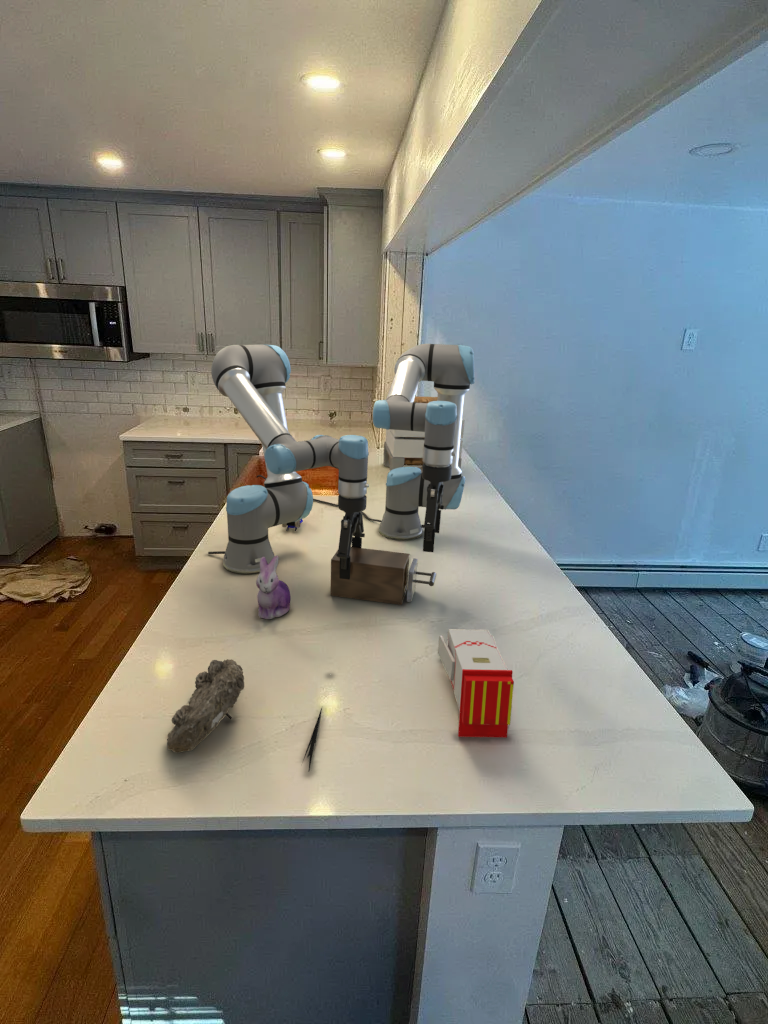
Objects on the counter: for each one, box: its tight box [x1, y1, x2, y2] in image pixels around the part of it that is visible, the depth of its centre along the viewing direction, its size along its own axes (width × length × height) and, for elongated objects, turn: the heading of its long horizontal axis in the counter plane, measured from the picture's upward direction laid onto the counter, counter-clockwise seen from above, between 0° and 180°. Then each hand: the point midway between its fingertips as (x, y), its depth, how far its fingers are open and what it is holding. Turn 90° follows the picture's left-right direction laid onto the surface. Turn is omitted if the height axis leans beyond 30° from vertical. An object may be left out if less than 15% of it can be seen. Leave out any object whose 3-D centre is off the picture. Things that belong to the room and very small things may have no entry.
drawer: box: [403, 557, 437, 603], centre depth 156 cm, size 24×9×9 cm, turn 79°
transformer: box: [383, 396, 465, 472], centre depth 268 cm, size 34×33×41 cm
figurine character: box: [281, 519, 304, 532], centre depth 201 cm, size 7×8×15 cm
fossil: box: [166, 658, 245, 754], centre depth 106 cm, size 22×10×15 cm
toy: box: [437, 628, 515, 738], centre depth 117 cm, size 12×13×30 cm
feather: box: [301, 673, 332, 771], centre depth 108 cm, size 2×28×2 cm
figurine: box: [255, 555, 292, 620], centre depth 143 cm, size 9×10×15 cm
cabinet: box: [330, 546, 410, 606], centre depth 156 cm, size 20×10×11 cm, turn 79°
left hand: (350, 568), depth 157 cm, fingers open, 12 cm apart
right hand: (431, 541), depth 150 cm, fingers open, 13 cm apart
